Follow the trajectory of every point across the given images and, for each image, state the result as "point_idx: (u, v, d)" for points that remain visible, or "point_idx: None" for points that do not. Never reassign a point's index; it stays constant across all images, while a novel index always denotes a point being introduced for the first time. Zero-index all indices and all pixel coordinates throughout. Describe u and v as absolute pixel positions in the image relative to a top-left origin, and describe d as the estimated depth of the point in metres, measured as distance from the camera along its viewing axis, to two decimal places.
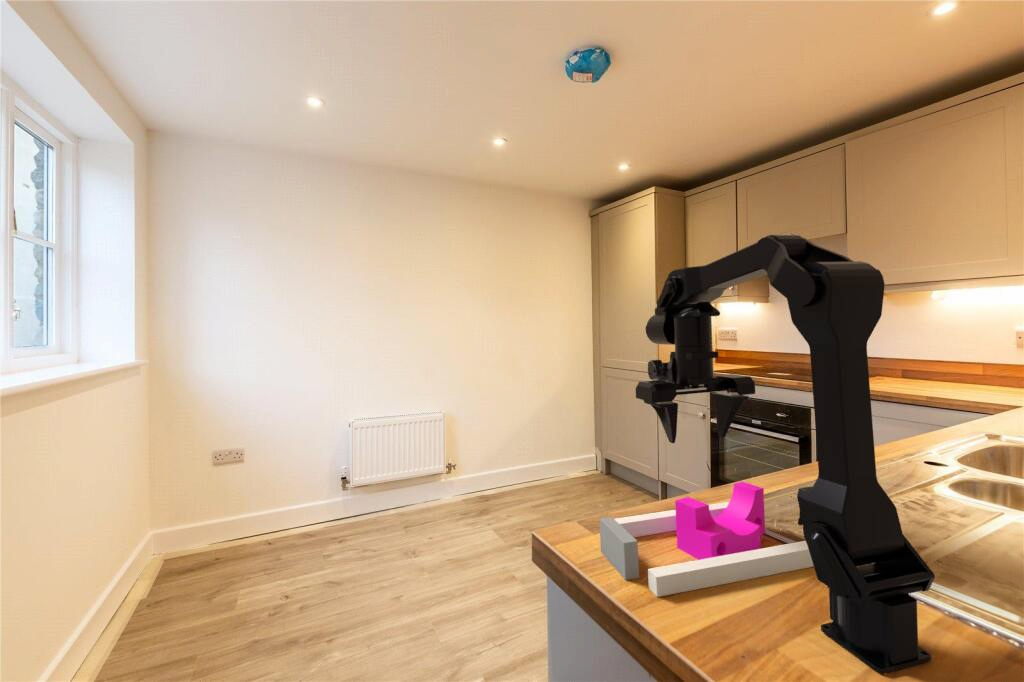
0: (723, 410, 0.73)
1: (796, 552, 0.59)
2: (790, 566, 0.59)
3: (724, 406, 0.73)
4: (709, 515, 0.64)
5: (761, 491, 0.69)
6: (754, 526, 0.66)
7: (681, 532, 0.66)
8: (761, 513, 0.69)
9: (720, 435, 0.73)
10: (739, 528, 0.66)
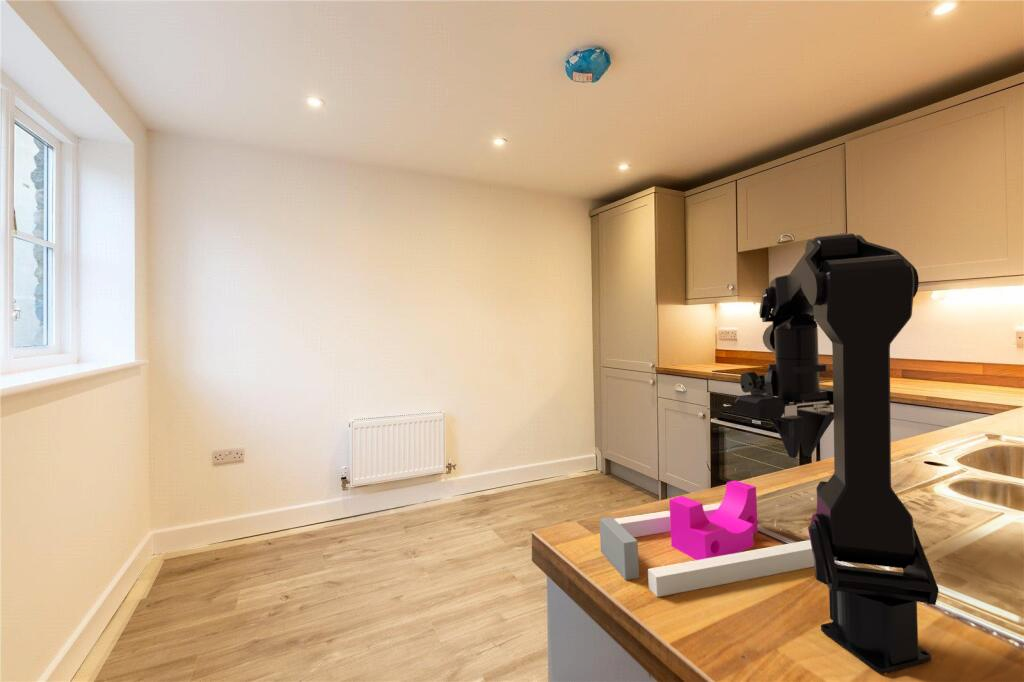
0: (809, 427, 0.69)
1: (796, 552, 0.59)
2: (790, 566, 0.59)
3: (810, 423, 0.69)
4: (703, 514, 0.65)
5: (754, 489, 0.70)
6: (746, 524, 0.66)
7: (675, 531, 0.66)
8: (754, 511, 0.70)
9: (805, 454, 0.69)
10: (733, 526, 0.67)
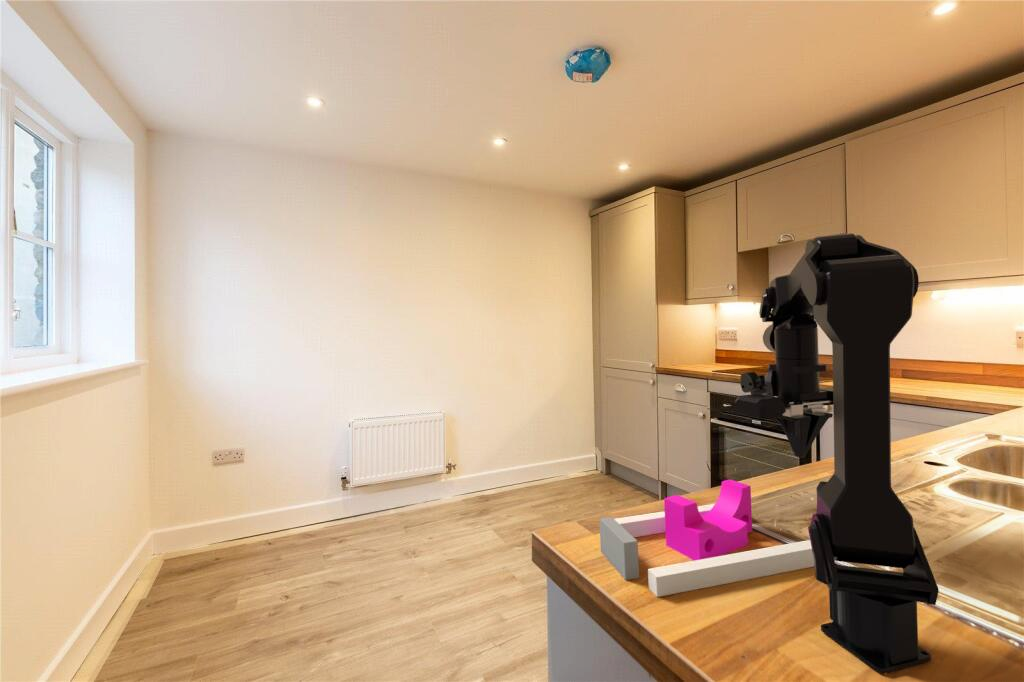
0: None
1: (796, 552, 0.59)
2: (790, 566, 0.59)
3: None
4: (697, 512, 0.65)
5: (748, 488, 0.70)
6: (741, 523, 0.67)
7: (670, 530, 0.66)
8: (748, 510, 0.70)
9: None
10: (727, 525, 0.67)
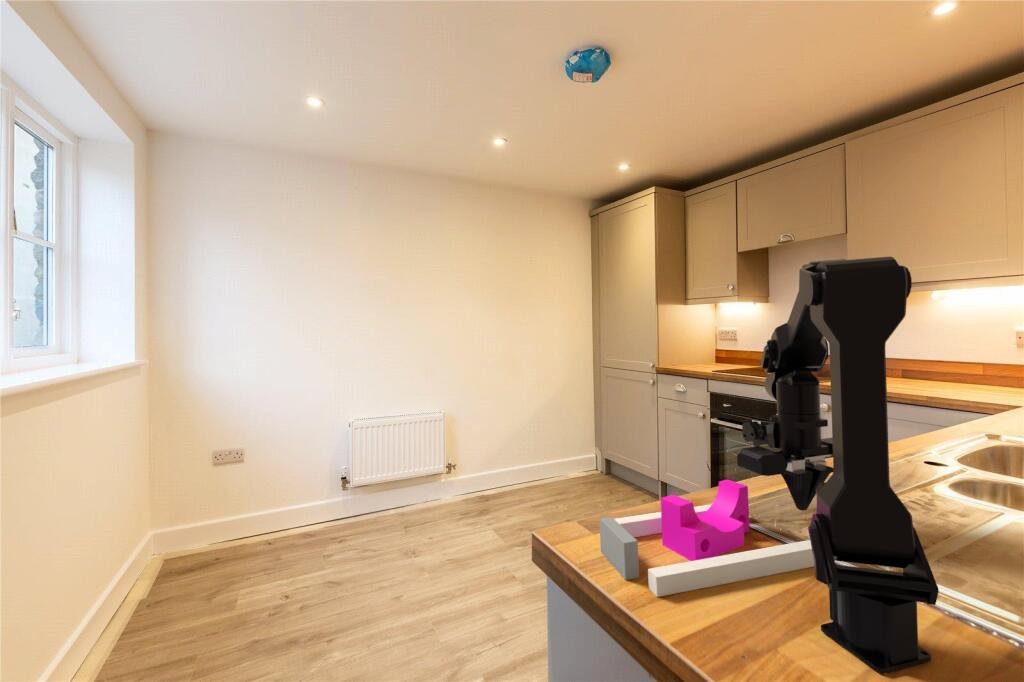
0: None
1: (796, 552, 0.59)
2: (790, 566, 0.59)
3: None
4: (693, 512, 0.65)
5: (745, 489, 0.70)
6: (737, 523, 0.67)
7: (666, 530, 0.67)
8: (745, 510, 0.70)
9: None
10: (724, 525, 0.67)
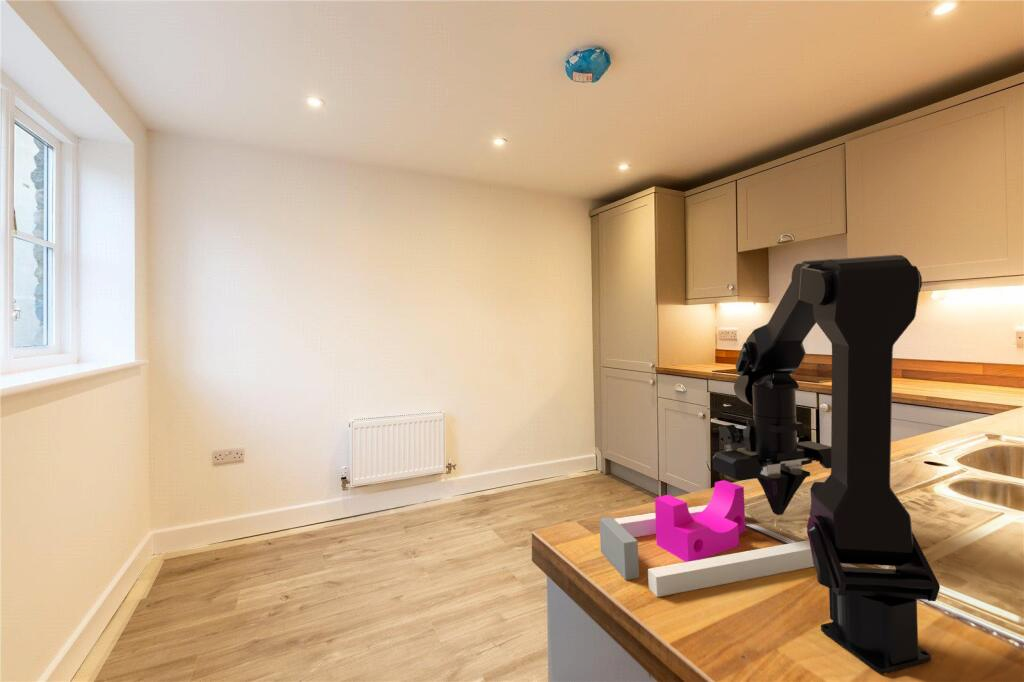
0: None
1: (796, 552, 0.59)
2: (790, 566, 0.59)
3: None
4: (687, 513, 0.65)
5: (741, 490, 0.70)
6: (732, 524, 0.67)
7: (660, 529, 0.67)
8: (741, 511, 0.70)
9: None
10: (718, 525, 0.67)
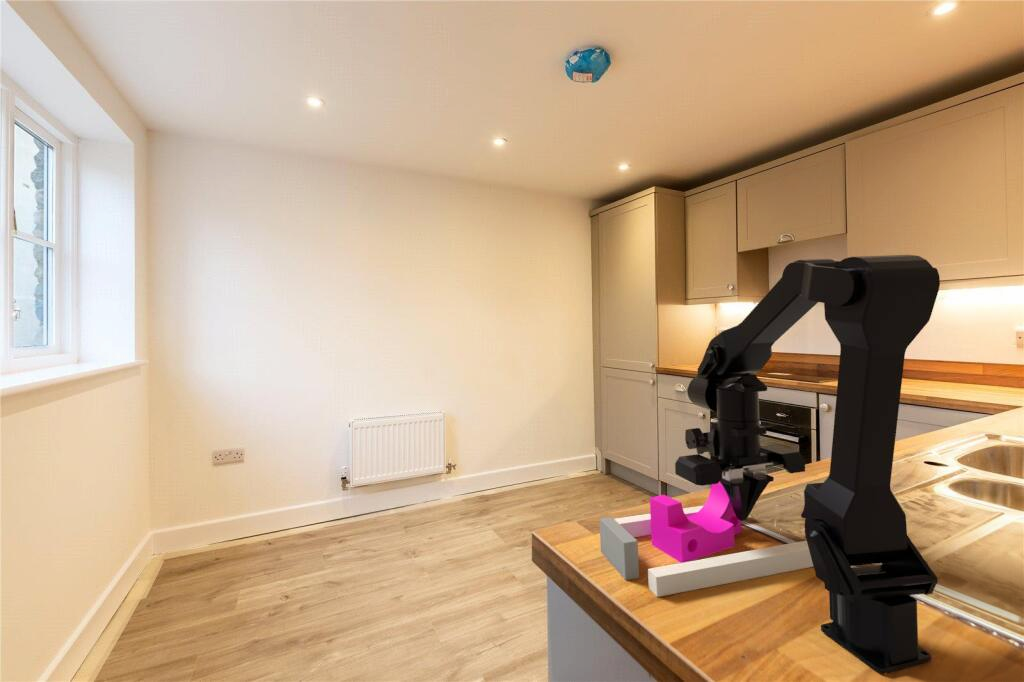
0: None
1: (796, 552, 0.59)
2: (790, 566, 0.59)
3: None
4: (682, 513, 0.65)
5: None
6: (727, 524, 0.67)
7: (655, 529, 0.67)
8: None
9: None
10: (714, 525, 0.67)
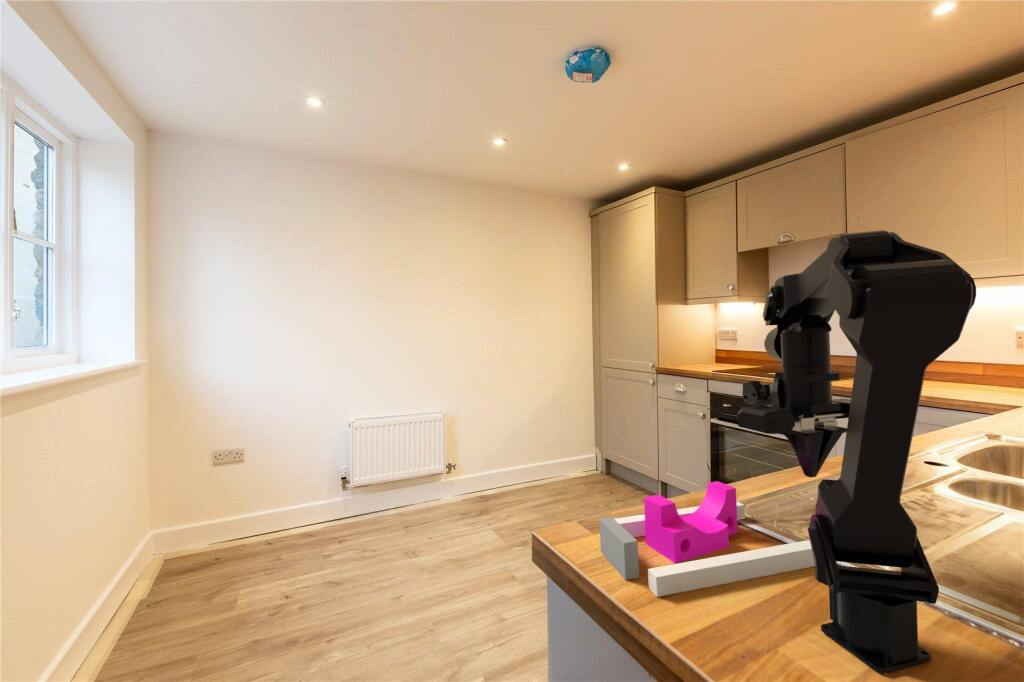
0: None
1: (796, 552, 0.59)
2: (790, 566, 0.59)
3: None
4: (675, 513, 0.65)
5: (733, 491, 0.70)
6: (722, 525, 0.66)
7: (649, 529, 0.67)
8: (733, 513, 0.70)
9: None
10: (708, 526, 0.67)
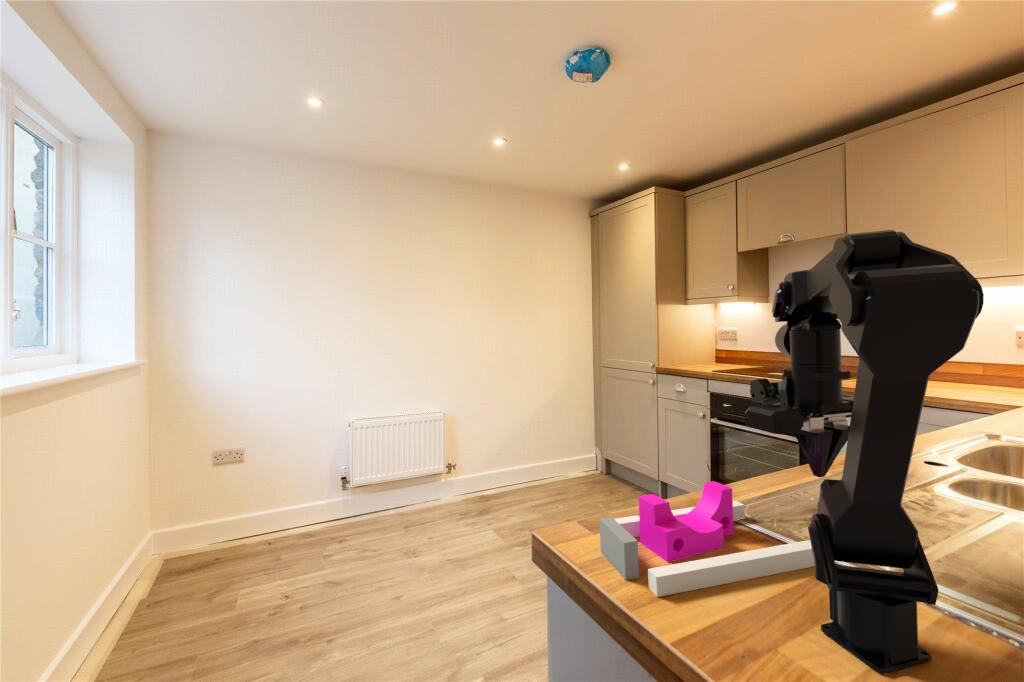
0: None
1: (796, 552, 0.59)
2: (790, 566, 0.59)
3: None
4: (669, 512, 0.66)
5: (729, 491, 0.70)
6: (717, 524, 0.66)
7: (643, 528, 0.67)
8: (729, 513, 0.70)
9: None
10: (703, 526, 0.67)
